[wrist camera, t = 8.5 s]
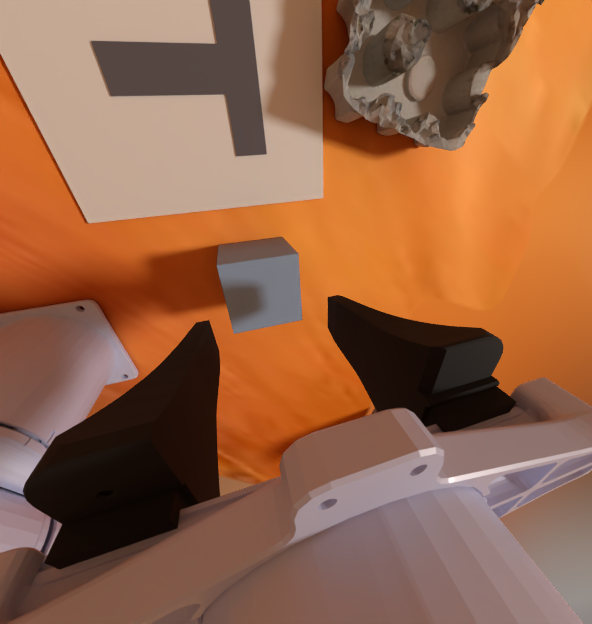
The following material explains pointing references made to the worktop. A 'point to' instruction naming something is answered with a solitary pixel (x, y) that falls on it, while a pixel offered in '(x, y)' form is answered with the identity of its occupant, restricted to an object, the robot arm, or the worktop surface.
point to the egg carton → (422, 63)
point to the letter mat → (173, 100)
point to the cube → (260, 283)
